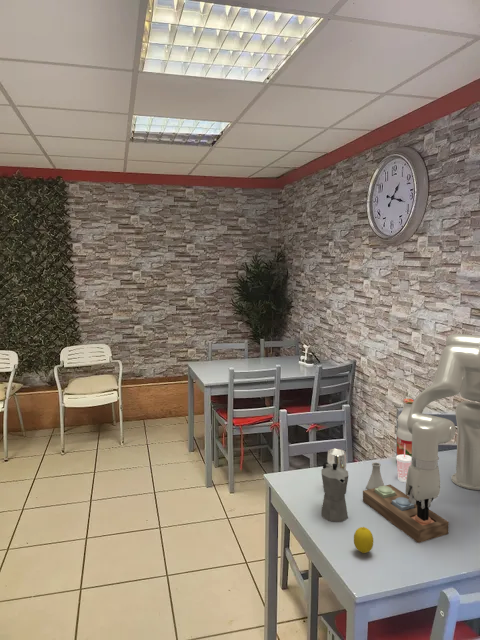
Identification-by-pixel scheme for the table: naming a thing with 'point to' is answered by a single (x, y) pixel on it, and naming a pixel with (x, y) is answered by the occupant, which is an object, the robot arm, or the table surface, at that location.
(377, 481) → the flask
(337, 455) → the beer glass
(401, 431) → the fruit juice
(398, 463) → the beverage cup
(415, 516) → the terracotta button
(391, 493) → the sage green button
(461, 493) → the table surface
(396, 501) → the slate blue button
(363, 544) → the lemon
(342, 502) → the coffeepot
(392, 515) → the button panel
